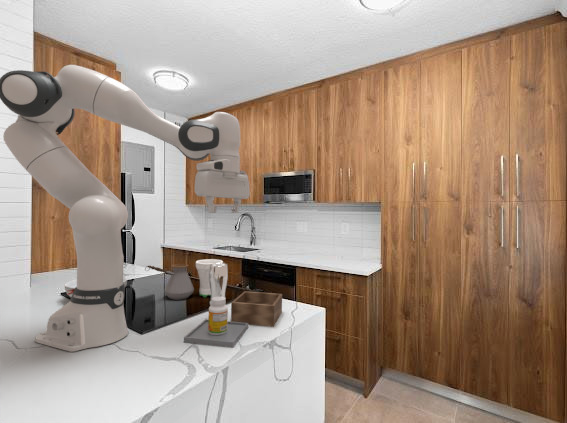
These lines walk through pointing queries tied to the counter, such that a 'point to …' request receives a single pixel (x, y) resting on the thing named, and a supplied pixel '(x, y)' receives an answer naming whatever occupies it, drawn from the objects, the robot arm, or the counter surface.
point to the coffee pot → (177, 282)
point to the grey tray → (225, 340)
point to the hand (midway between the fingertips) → (224, 212)
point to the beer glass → (218, 279)
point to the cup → (205, 275)
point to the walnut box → (257, 308)
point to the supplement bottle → (218, 316)
